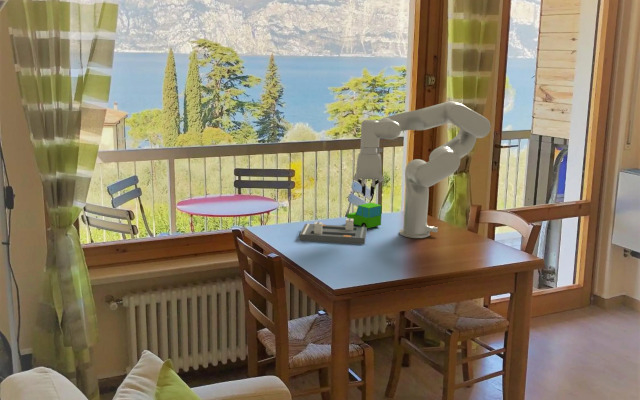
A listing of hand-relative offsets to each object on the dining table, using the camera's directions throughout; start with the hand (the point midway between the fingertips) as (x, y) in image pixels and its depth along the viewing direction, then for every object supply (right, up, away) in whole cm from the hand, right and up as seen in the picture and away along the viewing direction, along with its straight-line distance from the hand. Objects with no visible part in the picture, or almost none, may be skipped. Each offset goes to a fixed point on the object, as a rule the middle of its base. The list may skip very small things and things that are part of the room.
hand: (367, 195), depth 259 cm
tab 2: (-7, -15, +5) cm, 17 cm away
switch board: (-14, -17, +2) cm, 22 cm away
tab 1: (-20, -16, -2) cm, 26 cm away
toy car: (-1, -13, +19) cm, 23 cm away
